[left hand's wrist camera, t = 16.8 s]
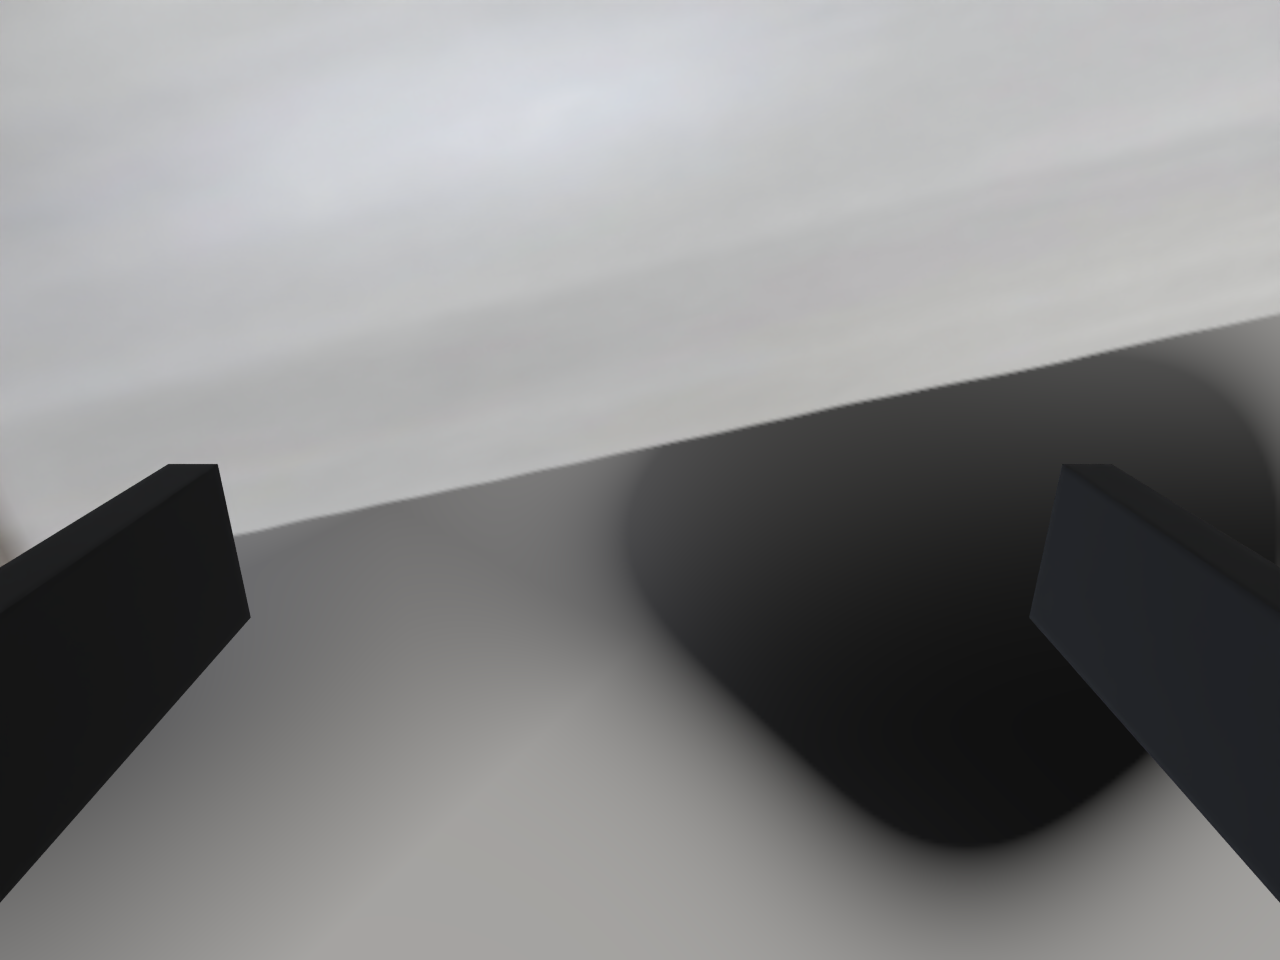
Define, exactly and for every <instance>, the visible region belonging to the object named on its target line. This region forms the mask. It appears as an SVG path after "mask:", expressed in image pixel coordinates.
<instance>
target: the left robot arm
mask: <svg viewBox="0 0 1280 960" xmlns="http://www.w3.org/2000/svg"><path fill="white" fill-rule="evenodd" d="M249 619H250V612H249V608H248V603H247V598H246V594H245V589H244V584H243V580H242V575H241V571H240V566H239V561H238V556H237V552H236V547H235V543H234V538H233V533H232V529H231V524H230V519H229V515H228V510H227V505H226V501H225V496H224V491H223V487H222V482H221V477H220V473H219V468H218V464H168V465H166V466H165V467H163V468H161V469H160V470H158V471H156V472H155V473H153V474H152V475H150V476H148V477H147V478H145V479H143V480H142V481H140V482H139V483H137V484H135V485H134V486H132V487H130V488H129V489H127V490H125V491H124V492H122V493H121V494H119V495H117V496H116V497H114V498H112V499H111V500H109V501H108V502H106V503H104V504H103V505H101V506H99V507H98V508H96V509H95V510H93V511H91V512H90V513H88V514H86V515H85V516H83V517H82V518H80V519H78V520H77V521H75V522H73V523H72V524H70V525H69V526H67V527H65V528H64V529H62V530H60V531H59V532H57V533H56V534H54V535H52V536H51V537H49V538H47V539H46V540H44V541H42V542H41V543H39V544H38V545H36V546H34V547H33V548H31V549H29V550H28V551H26V552H25V553H23V554H21V555H20V556H18V557H16V558H15V559H13V560H12V561H10V562H8V563H7V564H5V565H3V566H2V567H0V902H1V901H2V900H3V899H4V898H5V896H6V895H7V894H8V893H9V892H10V891H11V890H12V888H13V887H14V886H15V885H16V884H17V883H18V882H19V881H20V879H21V878H22V877H23V876H24V875H25V874H26V873H27V871H28V870H29V869H30V868H31V867H32V866H33V865H34V863H35V862H36V861H37V860H38V859H39V858H40V857H41V855H42V854H43V853H44V852H45V851H46V850H47V849H48V847H49V846H50V845H51V844H52V843H53V842H54V841H55V839H56V838H57V837H58V836H59V835H60V834H61V833H62V832H63V830H64V829H65V828H66V827H67V826H68V825H69V824H70V822H71V821H72V820H73V819H74V818H75V817H76V816H77V815H78V813H79V812H80V811H81V810H82V809H83V808H84V807H85V805H86V804H87V803H88V802H89V801H90V800H91V799H92V797H93V796H94V795H95V794H96V793H97V792H98V791H99V789H100V788H101V787H102V786H103V785H104V784H105V783H106V781H107V780H108V779H109V778H110V777H111V776H112V775H113V774H114V772H115V771H116V770H117V769H118V768H119V767H120V766H121V764H122V763H123V762H124V761H125V760H126V759H127V758H128V756H129V755H130V754H131V753H132V752H133V751H134V750H135V748H136V747H137V746H138V745H139V744H140V743H141V742H142V741H143V739H144V738H145V737H146V736H147V735H148V734H149V733H150V731H151V730H152V729H153V728H154V727H155V726H156V724H157V723H158V722H159V721H160V720H161V719H162V718H163V717H164V715H165V714H166V713H167V712H168V711H169V710H170V709H171V707H172V706H173V705H174V704H175V703H176V702H177V701H178V700H179V698H180V697H181V696H182V695H183V694H184V693H185V692H186V690H187V689H188V688H189V687H190V686H191V685H192V684H193V682H194V681H195V680H196V679H197V678H198V677H199V676H200V675H201V673H202V672H203V671H204V670H205V669H206V668H207V667H208V665H209V664H210V663H211V662H212V661H213V660H214V659H215V657H216V656H217V655H218V654H219V653H220V652H221V651H222V649H223V648H224V647H225V646H226V645H227V644H228V643H229V641H230V640H231V639H232V638H233V637H234V636H235V635H236V634H237V632H238V631H239V630H240V629H241V628H242V627H243V626H244V624H245V623H246V622H247V621H248V620H249ZM1030 619H1031V620H1032V621H1033V622H1034V623H1035V624H1036V626H1037V627H1038V628H1039V629H1040V630H1041V631H1042V632H1043V634H1044V635H1045V636H1046V637H1047V638H1048V639H1049V640H1050V642H1051V643H1052V644H1053V645H1054V646H1055V647H1056V648H1057V649H1058V651H1059V652H1060V653H1061V654H1062V655H1063V656H1064V657H1065V659H1066V660H1067V661H1068V662H1069V663H1070V664H1071V665H1072V667H1073V668H1074V669H1075V670H1076V671H1077V672H1078V673H1079V674H1080V676H1081V677H1082V678H1083V679H1084V680H1085V681H1086V682H1087V684H1088V685H1089V686H1090V687H1091V688H1092V689H1093V690H1094V692H1095V693H1096V694H1097V695H1098V696H1099V697H1100V698H1101V699H1102V701H1103V702H1104V703H1105V704H1106V705H1107V706H1108V708H1109V709H1110V710H1111V711H1112V712H1113V713H1114V714H1115V715H1116V717H1117V718H1118V719H1119V720H1120V721H1121V722H1122V723H1123V725H1124V726H1125V727H1126V728H1127V729H1128V730H1129V731H1130V733H1131V734H1132V735H1133V736H1134V737H1135V738H1136V739H1137V740H1138V742H1139V743H1140V744H1141V745H1142V746H1143V747H1144V748H1145V750H1146V751H1147V752H1148V753H1149V754H1150V755H1151V756H1152V758H1153V759H1154V760H1155V761H1156V762H1157V763H1158V764H1159V766H1160V767H1161V768H1162V769H1163V770H1164V771H1165V772H1166V773H1167V775H1168V776H1169V777H1170V778H1171V779H1172V780H1173V781H1174V783H1175V784H1176V785H1177V786H1178V787H1179V788H1180V789H1181V791H1182V792H1183V793H1184V794H1185V795H1186V796H1187V797H1188V799H1189V800H1190V801H1191V802H1192V803H1193V804H1194V805H1195V807H1196V808H1197V809H1198V810H1199V811H1200V812H1201V813H1202V814H1203V816H1204V817H1205V818H1206V819H1207V820H1208V821H1209V822H1210V824H1211V825H1212V826H1213V827H1214V828H1215V829H1216V830H1217V832H1218V833H1219V834H1220V835H1221V836H1222V837H1223V838H1224V839H1225V841H1226V842H1227V843H1228V844H1229V845H1230V846H1231V848H1232V849H1233V850H1234V851H1235V852H1236V853H1237V854H1238V855H1239V857H1240V858H1241V859H1242V860H1243V861H1244V862H1245V863H1246V865H1247V866H1248V867H1249V868H1250V869H1251V870H1252V871H1253V873H1254V874H1255V875H1256V876H1257V877H1258V878H1259V879H1260V880H1261V882H1262V883H1263V884H1264V885H1265V886H1266V887H1267V888H1268V890H1269V891H1270V892H1271V893H1272V894H1273V895H1274V896H1275V898H1276V899H1277V900H1278V901H1279V902H1280V567H1278V566H1277V565H1275V564H1273V563H1272V562H1270V561H1268V560H1267V559H1265V558H1264V557H1262V556H1260V555H1259V554H1257V553H1255V552H1254V551H1252V550H1251V549H1249V548H1247V547H1246V546H1244V545H1242V544H1241V543H1239V542H1237V541H1236V540H1234V539H1233V538H1231V537H1229V536H1228V535H1226V534H1224V533H1223V532H1221V531H1220V530H1218V529H1216V528H1215V527H1213V526H1211V525H1210V524H1208V523H1207V522H1205V521H1203V520H1202V519H1200V518H1198V517H1197V516H1195V515H1194V514H1192V513H1190V512H1189V511H1187V510H1185V509H1184V508H1182V507H1180V506H1179V505H1177V504H1176V503H1174V502H1172V501H1171V500H1169V499H1168V498H1166V497H1164V496H1163V495H1161V494H1159V493H1158V492H1156V491H1154V490H1153V489H1151V488H1150V487H1148V486H1146V485H1145V484H1143V483H1141V482H1140V481H1138V480H1137V479H1135V478H1133V477H1132V476H1130V475H1128V474H1127V473H1125V472H1124V471H1122V470H1120V469H1119V468H1117V467H1115V466H1114V465H1112V464H1062V468H1061V473H1060V477H1059V482H1058V487H1057V491H1056V496H1055V501H1054V505H1053V510H1052V515H1051V519H1050V524H1049V529H1048V533H1047V538H1046V543H1045V547H1044V552H1043V556H1042V561H1041V566H1040V571H1039V575H1038V580H1037V584H1036V589H1035V594H1034V598H1033V603H1032V608H1031V612H1030Z"/></svg>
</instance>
